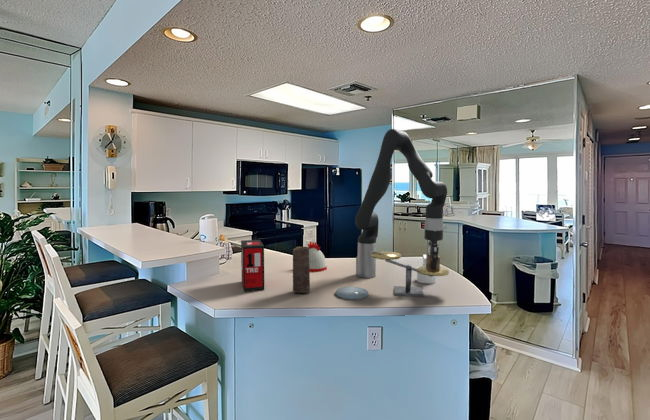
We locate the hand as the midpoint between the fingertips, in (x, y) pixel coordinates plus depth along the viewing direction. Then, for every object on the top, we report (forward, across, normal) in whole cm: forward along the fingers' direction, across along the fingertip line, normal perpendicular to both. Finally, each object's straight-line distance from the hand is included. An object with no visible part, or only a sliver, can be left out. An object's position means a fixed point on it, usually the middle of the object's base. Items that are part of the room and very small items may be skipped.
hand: (432, 267), depth 150 cm
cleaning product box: (+12, +3, -80) cm, 81 cm away
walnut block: (+1, 0, 0) cm, 1 cm away
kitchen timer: (+12, -33, -59) cm, 69 cm away
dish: (+11, +7, -34) cm, 37 cm away
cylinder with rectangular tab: (+12, -20, 0) cm, 23 cm away
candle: (+12, +9, -56) cm, 58 cm away
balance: (+11, 0, -10) cm, 15 cm away
